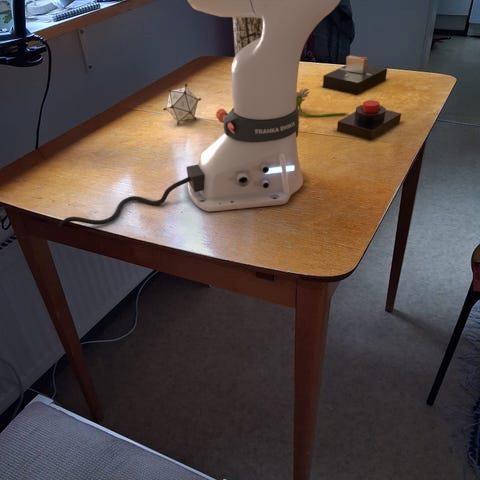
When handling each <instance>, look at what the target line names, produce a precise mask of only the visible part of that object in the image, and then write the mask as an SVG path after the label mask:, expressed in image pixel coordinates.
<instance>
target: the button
mask: <svg viewBox="0 0 480 480" xmlns="http://www.w3.org/2000/svg"><path fill="white" fill-rule="evenodd" d="M380 104H381V103H380V101H378V100H376V99H375V100H374V99H367V100H365V101H363V103H362V105H363V109H362V111H363V112H367V113H375V112H378V111H379V105H380Z"/></svg>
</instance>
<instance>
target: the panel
mask: <svg viewBox="0 0 480 480" xmlns="http://www.w3.org/2000/svg"><path fill="white" fill-rule="evenodd" d="M387 73H388V67H387V68H386V67H381V66H376V65H371V64H367V67H366V73H364V74H359V73H355V72H350V71H346V65H344V66H341V67H339V68H337V69H334V70H332V71H330V72H328V73H326V74H324V75H323V78H322V87H323V88H325V89H329V90H334V91H338V92H342V93H347V94H351V95H356V96H357V95H360V94H361V93H364V92H366V91H368V90H369V89H371V88H374V87H375V86H377V85H379V84H382V83H383V82H385V81H386V80H387V76H388V75H387Z"/></svg>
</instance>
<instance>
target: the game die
mask: <svg viewBox="0 0 480 480" xmlns="http://www.w3.org/2000/svg"><path fill="white" fill-rule="evenodd" d="M166 90H167V92H168V97H167V101H166V107H164V108H163V109H162V111H167V112H168V113H169V114H170V115H171V116H172V117H173V118H174V119H175V120H176V124H177V126H179V125H180V122H183V121H187V120H190V119H193V120H197V117H196V116H195V115H196V111H197V108H198V105H199V104H198V103H199V101H201V100H202V98H201V97H199V98H197V96H196V95H195V94H194V93H193V92H192V90H190V89H189V88H188V83H187V82H186V83H185V84H184V86H183V87H179V88H175V89H171V88H167V89H166Z"/></svg>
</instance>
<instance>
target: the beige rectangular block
mask: <svg viewBox="0 0 480 480" xmlns="http://www.w3.org/2000/svg"><path fill="white" fill-rule="evenodd" d="M367 65H368V57H366V56H356V55H350V54H349V55H347V56H346V59H345V66H346V71H350V72H355V73H359V74H364V73H366V67H367Z"/></svg>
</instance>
